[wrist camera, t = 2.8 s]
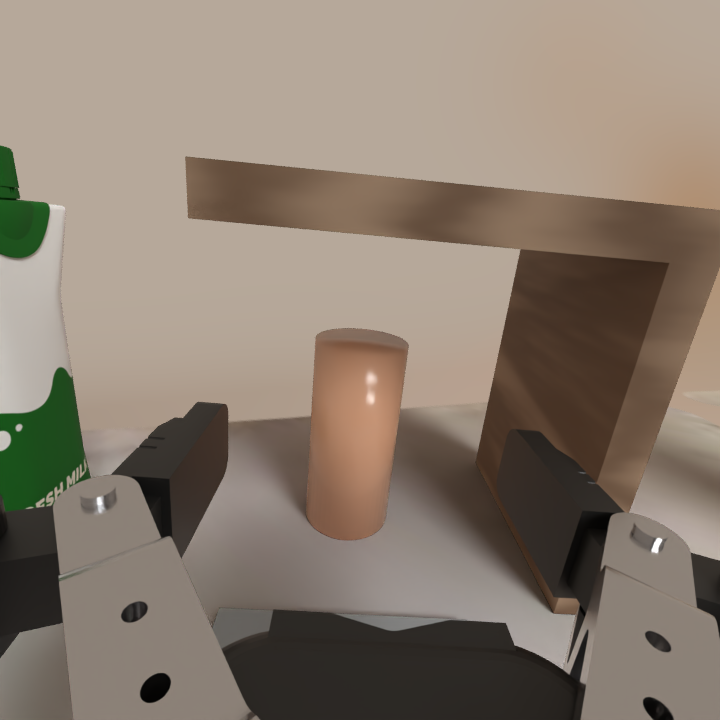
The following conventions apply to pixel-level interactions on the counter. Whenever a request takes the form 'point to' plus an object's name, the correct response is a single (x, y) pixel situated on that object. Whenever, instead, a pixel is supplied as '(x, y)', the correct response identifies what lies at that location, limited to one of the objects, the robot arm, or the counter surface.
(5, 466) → the milk carton
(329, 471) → the peach cylinder
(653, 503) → the counter surface
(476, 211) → the walnut shelf
